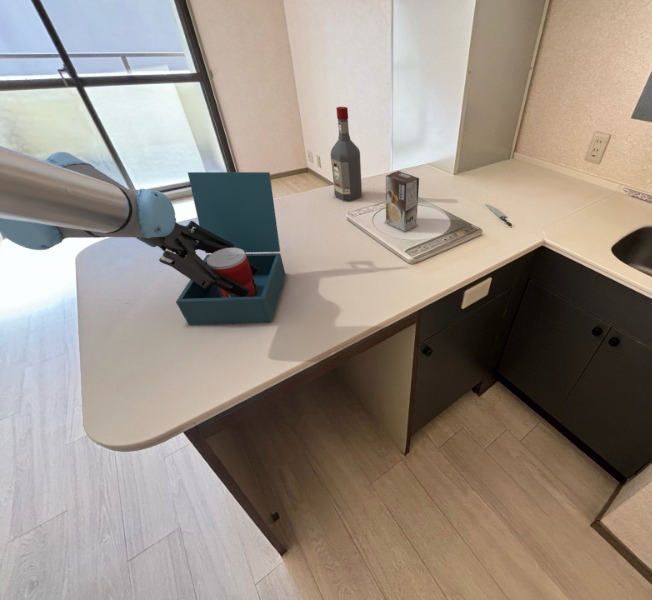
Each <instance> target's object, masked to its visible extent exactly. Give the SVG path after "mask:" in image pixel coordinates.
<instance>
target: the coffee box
mask: <svg viewBox="0 0 652 600" xmlns="http://www.w3.org/2000/svg"><path fill="white" fill-rule="evenodd" d="M419 187H420V177H417V176H414V175H412V174H408V173H405V172H403V171H401V170H400V171H399V170H397V171H393V172H391V173H389V174H386V175H385V223H386V224H388V225H390V226H392V227H394V228H397V229H398V230H401V231H403V232H407V231H409V230H411V229H413V228H415V227H417V222H418V220H417V219H418V207H419V206H418V205H419V189H420V188H419Z"/></svg>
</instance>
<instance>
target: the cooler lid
mask: <svg viewBox="0 0 652 600" xmlns="http://www.w3.org/2000/svg"><path fill="white" fill-rule="evenodd" d="M187 175H188V181H189V184H190V189H191V194H192V198H193V203H194V208H195V212H196V217H197V221H198V225H199V226H200V227H202V228H204V229H206V230H208V231H209V232H211V233H213V234H215V235H217V236H219V237H221V238H223V239H225V240H227V241H229V242H231V243H232V244H233V245H234V247H235V248H239V249H242V250H243V251H244V252H245V254H247V253H280V252H281V245H280V239H279V232H278V225H277V217H276V210H275V202H274V195H273V188H272V181H271V173H270V172H269V171H214V172H213V171H187ZM225 246H227V245H225ZM204 252H205V251H204ZM205 254H209V253H208V252H205Z"/></svg>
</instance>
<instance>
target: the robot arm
mask: <svg viewBox="0 0 652 600" xmlns="http://www.w3.org/2000/svg"><path fill="white" fill-rule="evenodd" d="M0 233H1V235H2V236H3V237H5V238H6V239H7V240H8V241H10V242H12V243H14V244H16V245H18V246H19V247H22V248H26V249H28V250H34V251H47V250H49V249H51V248H53V247H55V246H57V245H59V244H61V243H62V242H63V241H64V240H65V239H72V238H73V239H87V238H89V239H92V238H93V239H95V238H97V239H100V238H136V239H137V240H138V241H141V242H142V243H144V244H145V245H147V246H149V247H151V248H156V247H158V248H159V249H160V250H162V252H163V253H162V254H161V256H160V258H159V259H158V261H159V262H160V263H162V264H164V265H166V266H168V267H171V268H172V269H174V270H176V271H177V272H179V273H180V274H181V275H183V276H185V277H187V278H188V279H189V280H190V279H191V280H192V281H194V282H195V283H197V284H198V285H200V286H201V287H203V288H205V289H207V288H208V287H212V286H213V285H215V286H217V287H219V288H221V289H223V290H225V291H227V292H229V291H230V292H231V293H233V294H235V295H237V296H239V297H245V296H246V295H247V294H248V293H249V291H250V289H248V288H246V287H244V286H242V285H241V284H239V283H237V282H235V281H234V280H232V279H230V278H228V277H227V276H224V275H223V274H222V275H221V276H220V277H219V275H218V274H217V273H216V272H215V271H214V270H213V269H212V268H210V267H209V266H208V265H207V264H206V263H205V262H204V261H203V260H204V259H202V257H200V256H199V255H198V254H197V251H202V252H208V253H207V254H212V253H214V252H216V251H218V250H221V249H225V248H235V247H234V245H233V244H232V243H231V242H229V241H227V240H225V239H223V238H221V237H219V236H217V235H215V234H213V233H211V232H209V231H208V230H206V229H204V228H202V227H200V226H199V223H196V221H194V220H190V221H189V222H188V223H187V225H183V224H180V223H178V222H177V218H176V212H175V208H174V205H173V203H172V201H171V199H169V197H167V195H166V194H165V193H163V192H162V191H159V190H155V189H154V190H153V189H146V188H139V189H131V188H127V187H126V186H124V185H123V184H122V183H119V182H118V181H116V180H115V179H113V178H111V177H110V176H109V175H107V174H105V173H104V172H102V171H100V170H99V169H98V168H96V166H94V165H93V164H91V163H89V162H85V161H84V160H82V159H81V158H79V157H76V156H75V155H73V154H71V153H70V152H66V151H56V152H53V153H51V154H50V155H48V156H47V157H46V158H45V159H39V158H37V157H34V156H30V155H27V154H25V153H22V152H19V151H17V150H13V149H11V148H8V147H5V146H1V145H0ZM225 245H227V246H225ZM249 265H250V268H251V271H252V274H253V275H254V274H255V273H256V272H257V271H258V270H259V268H258V267H256V266H255V265H253V264H252V263H250V262H249ZM210 276H212V277H210ZM204 281H205V282H204Z"/></svg>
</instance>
